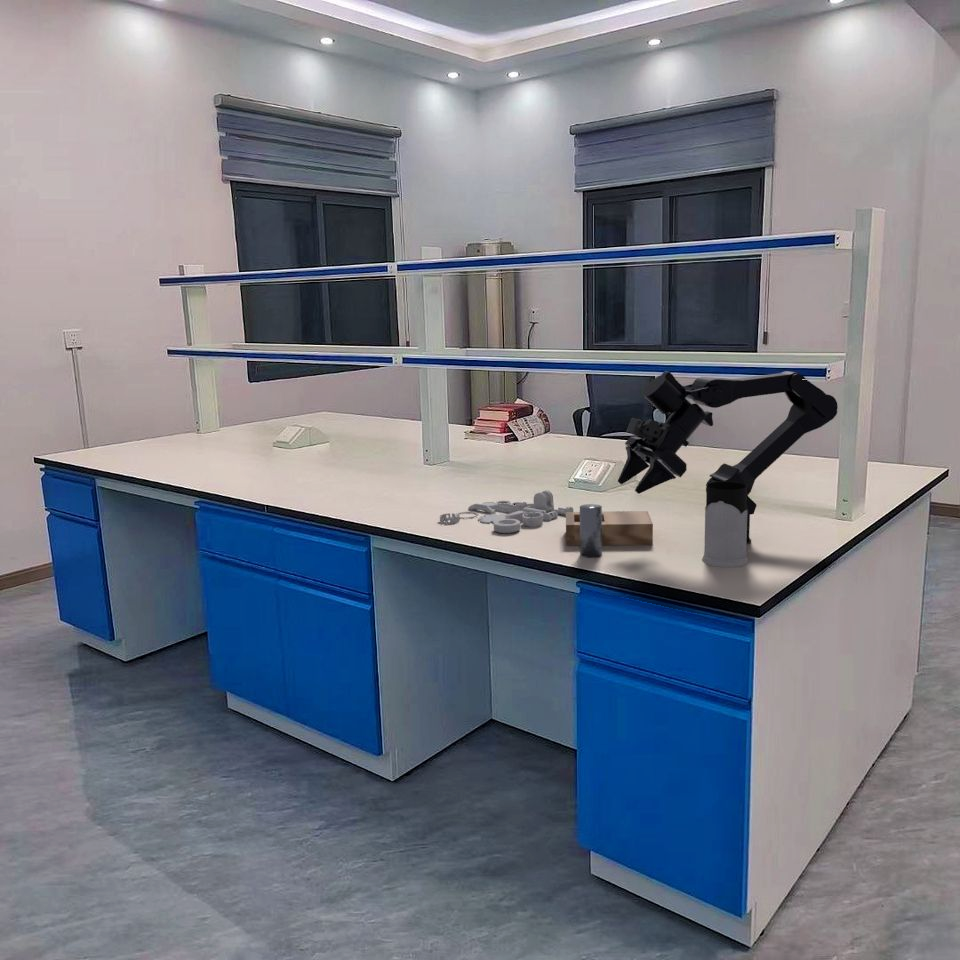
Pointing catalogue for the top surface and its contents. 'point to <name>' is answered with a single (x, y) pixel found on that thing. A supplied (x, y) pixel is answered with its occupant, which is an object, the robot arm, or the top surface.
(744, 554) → the glass holder
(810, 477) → the top surface
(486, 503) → the robot parts
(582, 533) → the axle
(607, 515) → the wooden block with hole
